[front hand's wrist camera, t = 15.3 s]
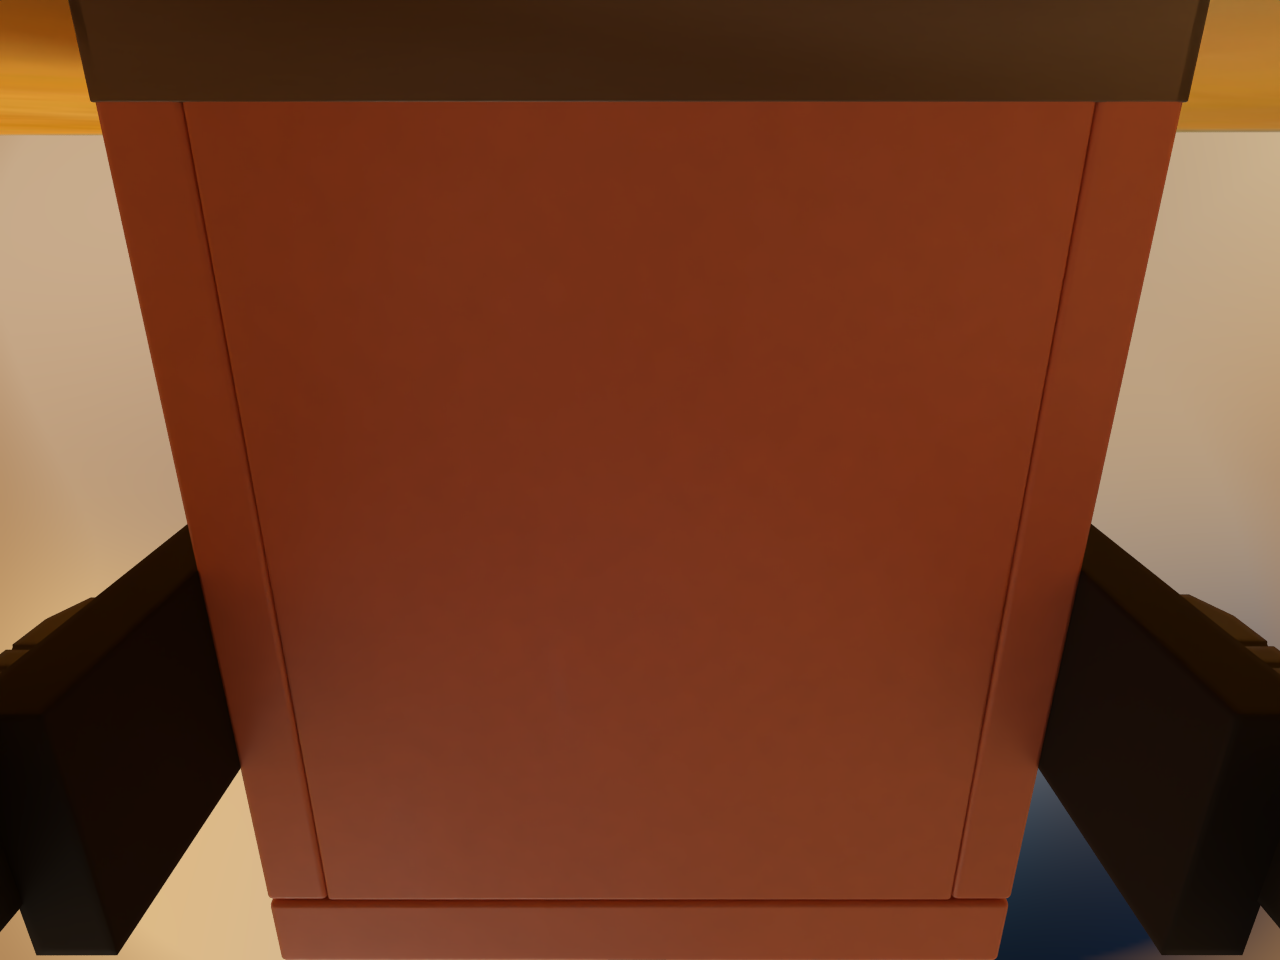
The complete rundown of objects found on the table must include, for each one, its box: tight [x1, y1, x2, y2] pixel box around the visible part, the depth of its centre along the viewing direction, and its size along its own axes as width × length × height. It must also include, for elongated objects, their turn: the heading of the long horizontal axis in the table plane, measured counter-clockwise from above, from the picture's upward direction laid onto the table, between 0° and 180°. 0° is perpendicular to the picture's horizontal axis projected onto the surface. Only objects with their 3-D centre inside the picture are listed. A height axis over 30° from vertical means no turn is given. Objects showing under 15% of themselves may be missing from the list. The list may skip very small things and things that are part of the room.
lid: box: [271, 895, 1008, 960], centre depth 19 cm, size 15×10×9 cm, turn 0°
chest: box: [68, 0, 1210, 899], centre depth 15 cm, size 14×10×10 cm
